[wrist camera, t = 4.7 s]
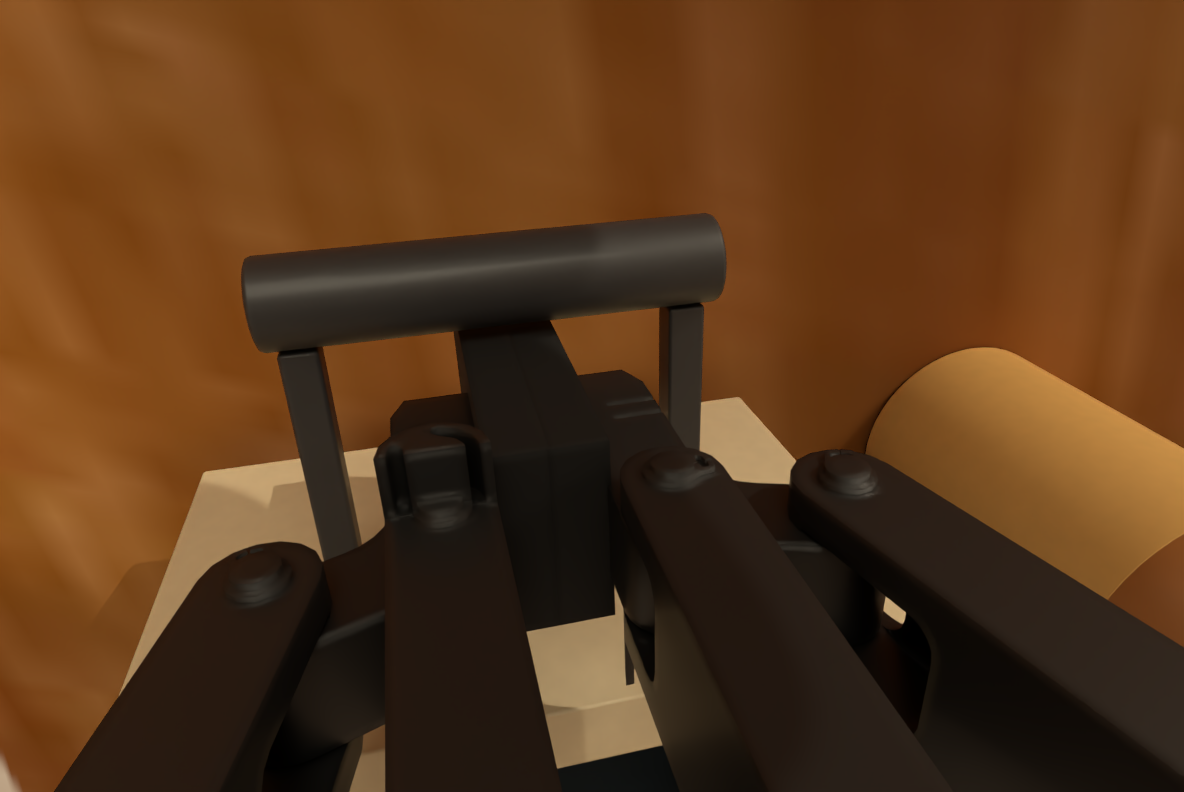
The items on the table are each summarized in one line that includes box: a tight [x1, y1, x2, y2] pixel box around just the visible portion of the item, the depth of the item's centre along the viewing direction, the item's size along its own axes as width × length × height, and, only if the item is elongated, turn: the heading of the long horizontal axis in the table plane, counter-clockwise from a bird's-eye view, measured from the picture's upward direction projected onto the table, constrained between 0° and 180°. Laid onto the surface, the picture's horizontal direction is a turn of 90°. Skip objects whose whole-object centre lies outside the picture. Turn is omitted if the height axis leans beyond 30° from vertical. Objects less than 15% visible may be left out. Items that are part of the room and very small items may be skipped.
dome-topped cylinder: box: [865, 347, 1184, 647], centre depth 19 cm, size 6×6×11 cm
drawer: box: [118, 213, 906, 792], centre depth 18 cm, size 23×13×9 cm, turn 2°
